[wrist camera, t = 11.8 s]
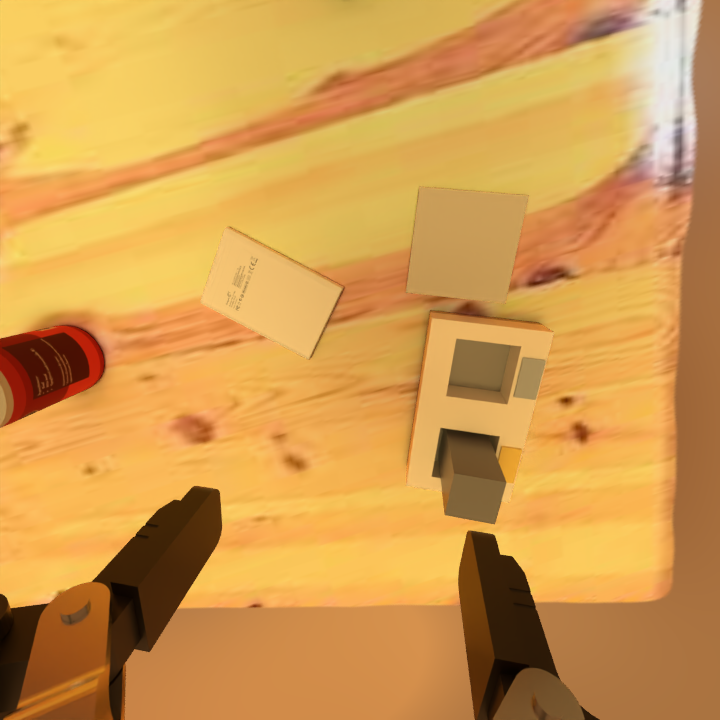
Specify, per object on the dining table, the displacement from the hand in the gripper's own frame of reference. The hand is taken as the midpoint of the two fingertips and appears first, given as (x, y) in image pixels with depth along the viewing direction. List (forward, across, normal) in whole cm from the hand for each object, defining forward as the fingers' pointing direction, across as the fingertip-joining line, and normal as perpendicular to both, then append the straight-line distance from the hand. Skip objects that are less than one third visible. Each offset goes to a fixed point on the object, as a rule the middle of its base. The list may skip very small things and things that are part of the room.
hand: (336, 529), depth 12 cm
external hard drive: (+27, +12, -2) cm, 30 cm away
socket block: (+26, -9, +6) cm, 28 cm away
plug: (+25, -8, +11) cm, 28 cm away
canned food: (+26, +35, +7) cm, 45 cm away
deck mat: (+26, -6, -8) cm, 28 cm away
